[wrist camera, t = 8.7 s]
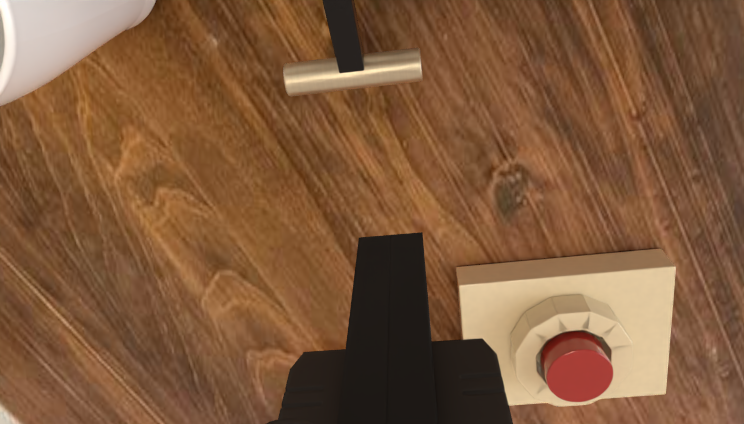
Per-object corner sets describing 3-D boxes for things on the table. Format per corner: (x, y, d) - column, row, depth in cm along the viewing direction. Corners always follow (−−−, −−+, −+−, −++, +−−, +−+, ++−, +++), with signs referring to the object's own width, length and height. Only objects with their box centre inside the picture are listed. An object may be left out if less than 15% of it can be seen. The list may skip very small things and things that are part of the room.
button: (605, 328, 36) (614, 347, 34) (603, 379, 37) (613, 400, 35) (539, 333, 36) (546, 352, 34) (540, 384, 37) (546, 405, 36)
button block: (661, 247, 37) (690, 283, 34) (653, 371, 41) (677, 415, 37) (455, 266, 38) (461, 302, 35) (465, 385, 42) (471, 429, 38)
